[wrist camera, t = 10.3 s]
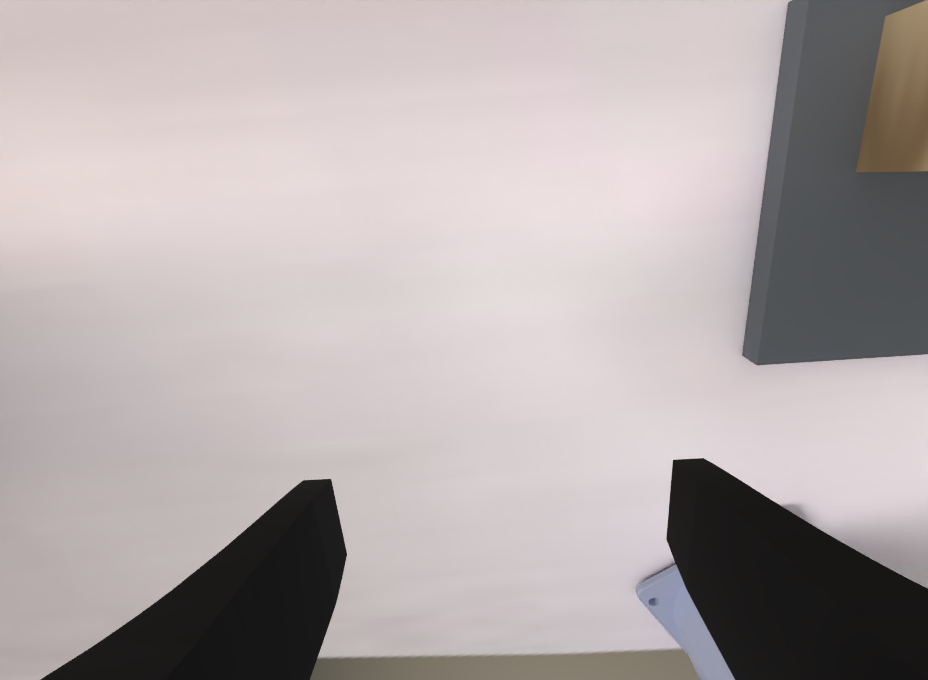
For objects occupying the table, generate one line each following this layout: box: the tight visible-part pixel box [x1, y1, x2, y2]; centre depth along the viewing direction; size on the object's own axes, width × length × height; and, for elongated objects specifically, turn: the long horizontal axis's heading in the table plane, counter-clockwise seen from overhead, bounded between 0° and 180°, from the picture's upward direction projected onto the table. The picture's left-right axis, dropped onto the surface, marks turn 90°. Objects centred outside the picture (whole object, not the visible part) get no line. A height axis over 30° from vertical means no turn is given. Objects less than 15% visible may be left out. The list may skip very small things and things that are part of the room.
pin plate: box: [742, 0, 928, 365], centre depth 16 cm, size 12×9×1 cm
